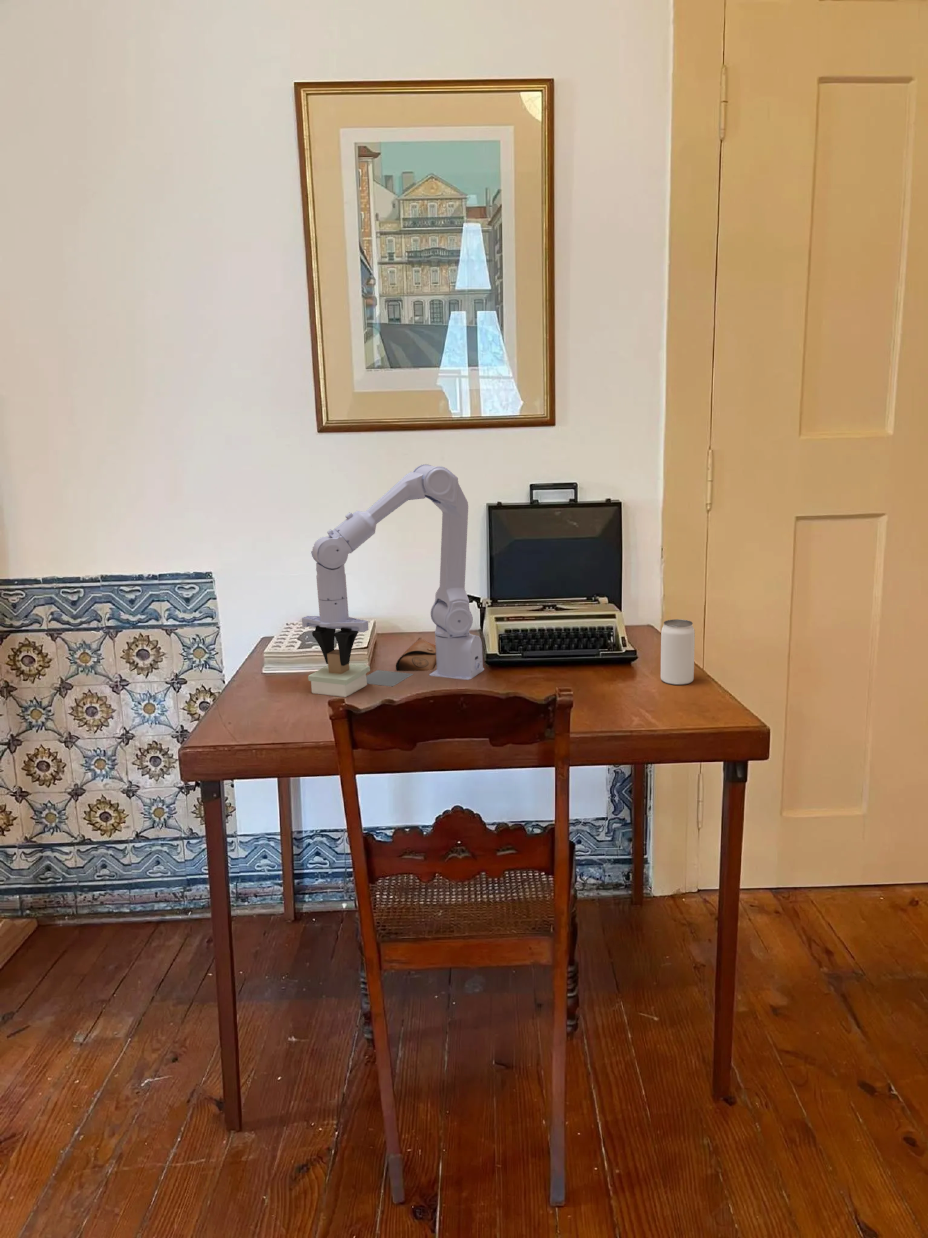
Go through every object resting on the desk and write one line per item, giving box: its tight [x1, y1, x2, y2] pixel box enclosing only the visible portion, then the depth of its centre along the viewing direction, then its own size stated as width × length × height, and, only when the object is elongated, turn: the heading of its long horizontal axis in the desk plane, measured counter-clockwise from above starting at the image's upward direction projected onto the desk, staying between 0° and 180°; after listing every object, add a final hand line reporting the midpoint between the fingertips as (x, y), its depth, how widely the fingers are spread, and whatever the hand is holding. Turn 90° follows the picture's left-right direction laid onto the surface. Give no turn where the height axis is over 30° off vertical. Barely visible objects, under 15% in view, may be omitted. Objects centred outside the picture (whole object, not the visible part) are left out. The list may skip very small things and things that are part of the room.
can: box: [660, 618, 696, 686], centre depth 174 cm, size 6×6×12 cm
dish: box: [310, 673, 368, 698], centre depth 177 cm, size 8×8×3 cm
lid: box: [307, 648, 371, 685], centre depth 176 cm, size 9×9×5 cm
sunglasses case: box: [395, 637, 437, 672], centre depth 196 cm, size 18×7×7 cm
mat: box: [366, 669, 414, 688], centre depth 183 cm, size 9×9×1 cm
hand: (337, 663), depth 176 cm, fingers closed on lid, 3 cm apart
